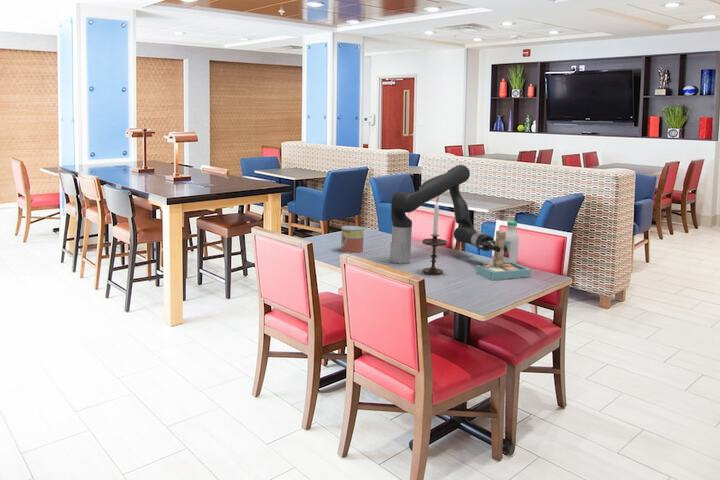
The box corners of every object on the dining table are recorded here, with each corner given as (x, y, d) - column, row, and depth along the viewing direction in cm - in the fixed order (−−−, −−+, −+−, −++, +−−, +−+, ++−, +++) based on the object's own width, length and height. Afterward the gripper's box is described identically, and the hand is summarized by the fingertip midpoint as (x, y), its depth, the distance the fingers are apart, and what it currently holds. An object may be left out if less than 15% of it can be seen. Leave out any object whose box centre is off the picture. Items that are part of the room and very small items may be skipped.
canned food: (337, 249, 327) (338, 226, 324) (357, 247, 332) (358, 225, 329) (346, 254, 317) (346, 230, 314) (366, 252, 322) (367, 229, 319)
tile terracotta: (501, 273, 291) (502, 267, 291) (511, 272, 293) (512, 266, 293) (508, 276, 286) (509, 270, 286) (518, 275, 288) (519, 269, 288)
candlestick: (441, 269, 294) (445, 193, 287) (447, 275, 284) (452, 197, 277) (418, 269, 293) (422, 193, 285) (424, 275, 282) (428, 196, 275)
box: (476, 272, 290) (477, 265, 289) (513, 270, 297) (514, 262, 296) (491, 280, 278) (492, 272, 278) (530, 277, 286) (530, 269, 285)
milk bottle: (514, 260, 316) (518, 220, 312) (518, 264, 309) (522, 223, 305) (499, 259, 316) (502, 220, 312) (503, 263, 309) (506, 222, 304)
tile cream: (487, 274, 288) (488, 268, 288) (498, 273, 290) (498, 267, 290) (494, 277, 283) (495, 271, 283) (505, 276, 285) (505, 270, 285)
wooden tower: (482, 270, 291) (485, 231, 286) (508, 268, 296) (512, 229, 291) (485, 272, 288) (489, 232, 284) (512, 270, 293) (516, 231, 289)
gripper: (470, 234, 299) (490, 242, 283) (495, 233, 304) (517, 240, 288) (468, 250, 301) (489, 258, 285) (494, 248, 306) (515, 257, 290)
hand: (503, 249), depth 287 cm, fingers closed on wooden tower, 3 cm apart
